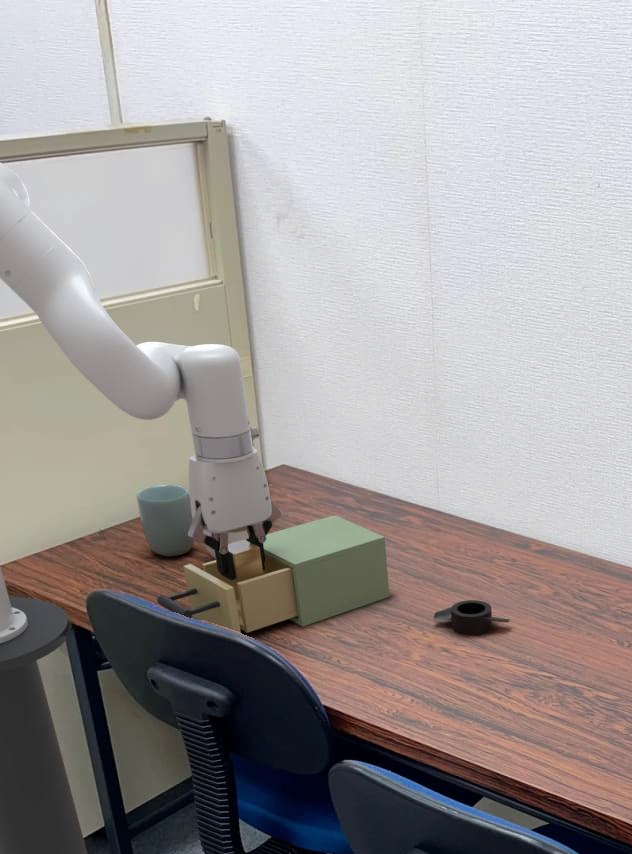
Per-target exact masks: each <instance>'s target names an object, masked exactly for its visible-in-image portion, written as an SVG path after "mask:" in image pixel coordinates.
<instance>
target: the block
mask: <svg viewBox="0 0 632 854" xmlns="http://www.w3.org/2000/svg"><path fill="white" fill-rule="evenodd" d="M228 552H230V553H232V556H233V562H234V568H235V575H236V578H235V580H237V581H241V580H244V579H248V578H251V577H254V576H257V575H261V574H263V568H262V561H261V554H260V547H258V546H256V545H254V544H252V543H250V542H248V541H246V540H240V541H237V542H233V543H230V544H228Z"/></svg>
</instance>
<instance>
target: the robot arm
mask: <svg viewBox="0 0 632 854" xmlns="http://www.w3.org/2000/svg"><path fill="white" fill-rule="evenodd" d="M0 280H1V281H2V282H3V283H4V284H6V286H8V287H9V288H10V290H11V291H12V292H14V293H15V294H16V295H17V296H18V297H19V298H20V299H21V300H22V301H23V302H24V303H25V304H26V305H27V306H28V307H29V308H30V309H31V310H32V311H33V312H34V313H35V314H36V316H37V317H38V319H39V321H40V322H41V324H42V325H43V328H44V329H45V330H46V331H47V333H48V334H49V335H50V337H51V338H52V340H53V341H54V342H55V343H56V344H57V346H58V347H59V349H60V350H61V352H62V353H63V354H64V356H65V357H66V358H67V359H68V360H69V362H70V363H71V364H72V366H74V367H75V369H77V371H78V372H79V373H80V374H81V375H82V376H83V377H84V378H85V379H86V380H87V381H88V382H89V383H90V384H92V386H93V387H95V388H96V389H97V390H98V391H99V392H100V393H101V394H102V395H103V396H104V397H105V398H106V399H108V400H109V401H110V402H111V403H112V404H113V405H114V406H116V407H117V408H118V409H120V410H121V411H122V412H124V413H125V414H127V415H129V416H131V417H134V418H136V419H139V420H147V421H148V420H149V421H150V420H156V419H159V418H161V417H163V416H165V415H166V414H168V412H169V411H170V410H171V409H172V407H173V406H174V404H175V402H177V401H179V400H180V399H183V400H184V401H185V403H186V406H187V412H188V418H189V424H190V430H191V437H192V443H193V447H194V448H193V449H194V454H193V455H191V456H190V457H189V461H188V462H189V463H188V492H189V496H190V503H191V512H192V518H193V521H192V524H191V526H190V529H189V532H188V537H190V538H191V539H193V540H194V541H196V542H199V543H201V544H203V543H204V544H206V545H207V546H209V547H210V548H212V549H213V550H215V556H216V559H215V560H216V562H217V568H218V571H219V573H221V575H222V576H224V577H226V578H228V579H230V580H235V578H236V575H235V568H234V562H233V556H232V553H230V552H228V531H231V530H235V529H238V528H242V527H246V530H247V533H248V536H249V538H248V539H246V541H248V542H250V543H252V544H254V545H256V546H258V547H260V554H261V561H262V568H263V571H264V570H265V564H264V562H265V553H264V546H263V543H264V542H265V541H266V535H267V534H269V533H270V531H271V528H272V527H273V524H275V523H276V521H278V519H279V518H281V516H282V511H281V510H280V508H278V506H276V504H275V503H274V502H273V501H272V498H271V494H270V488H269V484H268V479H267V475H266V472H265V467H264V465H263V462H262V459H261V457H260V454H259V452H258V451H259V450H258V449H257V448H255V447H254V446H255V445H254V440H255V439H258V438H259V437H260V431H259V429H258V428H257V427H252V426H251V423H250V418H249V417H250V416H249V410H248V403H247V396H246V395H247V394H246V388H245V382H244V381H245V380H244V374H243V369H242V368H243V366H242V360H241V357H240V354H239V352H238V351H237V350H236V349H235V348H233V347H232V346H229V345H225V344H217V343H207V344H205V343H204V344H197V345H193V346H192V345H191V346H190V345H182V344H174V343H168V342H160V341H146V342H142V343H138V344H137V345H136V344H135V342H133V341H132V340H131V339H130V338H129V336H128V335H126V334H125V332H124V331H123V330H122V329H121V328H120V327H119V326H118V325H117V324H116V323H115V321H114V320H113V318H112V317H111V316H110V315H109V313H108V312H107V310H106V308H105V307H104V306H103V303H102V301H101V300H100V298H99V296H98V294H97V292H96V287H95V285H94V282H93V279H92V276H91V273H90V271H89V270H88V268H87V266H86V265H85V263H84V262H83V260H82V259H81V258H80V257H79V256H78V255H77V254H76V253H75V252H74V251H73V250H72V249H71V248H70V247H69V246H68V245H67V244H66V243H65V242H63V240H62V239H60V237H59V236H57V235H56V233H54V231H52V230H51V228H50V227H49V226H48V225H47V224H46V223H45V222H44V221H43V220H42V219H40V217H38V215H37V214H36V213H35V212H34V211H33V210H32V209H31V202H30V196H29V193H28V190H27V188H26V185H25V183H24V182H23V180H22V179H21V178H20V176H19V175H17V173H16V172H15V171H14V170H13V169H11V168H10V167H9V166H7V165H6V164H4V163H3V162H1V161H0ZM205 526H207V528H208V530H209V532H210V536H209V535H207V534H204V533H203V529H204V527H205ZM204 544H203V545H204ZM9 597H10V596H9V592H8V589H7V585H6V582H5V577H4V573H3V571H2V566H1V565H0V644H1V643H4V642H7V641H9V640H11V639H13V638H15V637H17V636H19V635H20V634H21V633H22V632H23V631H24V630H25V629H26V628H27V626H28V621H27V617H26V615H25V614H24V612H22V611H20V610H19V609H16V608H13V607H11V604H10V600H9Z"/></svg>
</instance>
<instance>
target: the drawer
mask: <svg viewBox="0 0 632 854" xmlns="http://www.w3.org/2000/svg"><path fill="white" fill-rule="evenodd" d="M264 564H265V570H264V571H263V574H261V575H257V576H254V577H251V578H248V579H244V580H241V581H237V580H230V579H228V578H226V577H224V576H222V575H221V573H219V571H218V568H217V562H216V559H214V560H211V561H208V562H204V563H202V564H201V566H202V569H201V568H199V567H198V566H196V565H194V564H192V563H188V564H186V565H183V566H182V567H183V572H184V579H185V583H186V584H185V585H186V589H187V590H185V591H181V592H178V593H175V594H171V595H168V596H167V595H165V594H161V595H159V596H157V599H156V601H157V604H158V605H160V606H161V607H163V608H165V609H166V610H168V611H170V612H171V613H173V612H176V613H179V614H181V615H184V616H186V617H189V618H190V619H192V618H194V619H196V618H197V619H200V620H205V621H208V622H211V623H214V624H218V625H220V626H224V627H227V628H229V629H232V630H235V631H238V632H240V633H241V634H242V632H241V630H242V631H243V632H245V633H247V634H248V633H251V632H253V631H257V630H260V629H263V628H265V627H269V626H272V625H274V624H277V623H281V622H284V621H287V620H289V619H290V618H293V617H296V616H298V609H297V601H296V593H295V585H294V577H293V569H292V567H290V566H288V565H286V564H284V563H282V562H280V561H278V560H276V559H274V558H272V557H270V556H268V555H266V554H265V562H264ZM186 597H188V601H189V606H190V609H188V608H187V607H185V606H183V605H182V604H180V603H178V602H177V600H181V599H184V598H186ZM197 619H196V620H197Z"/></svg>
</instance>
